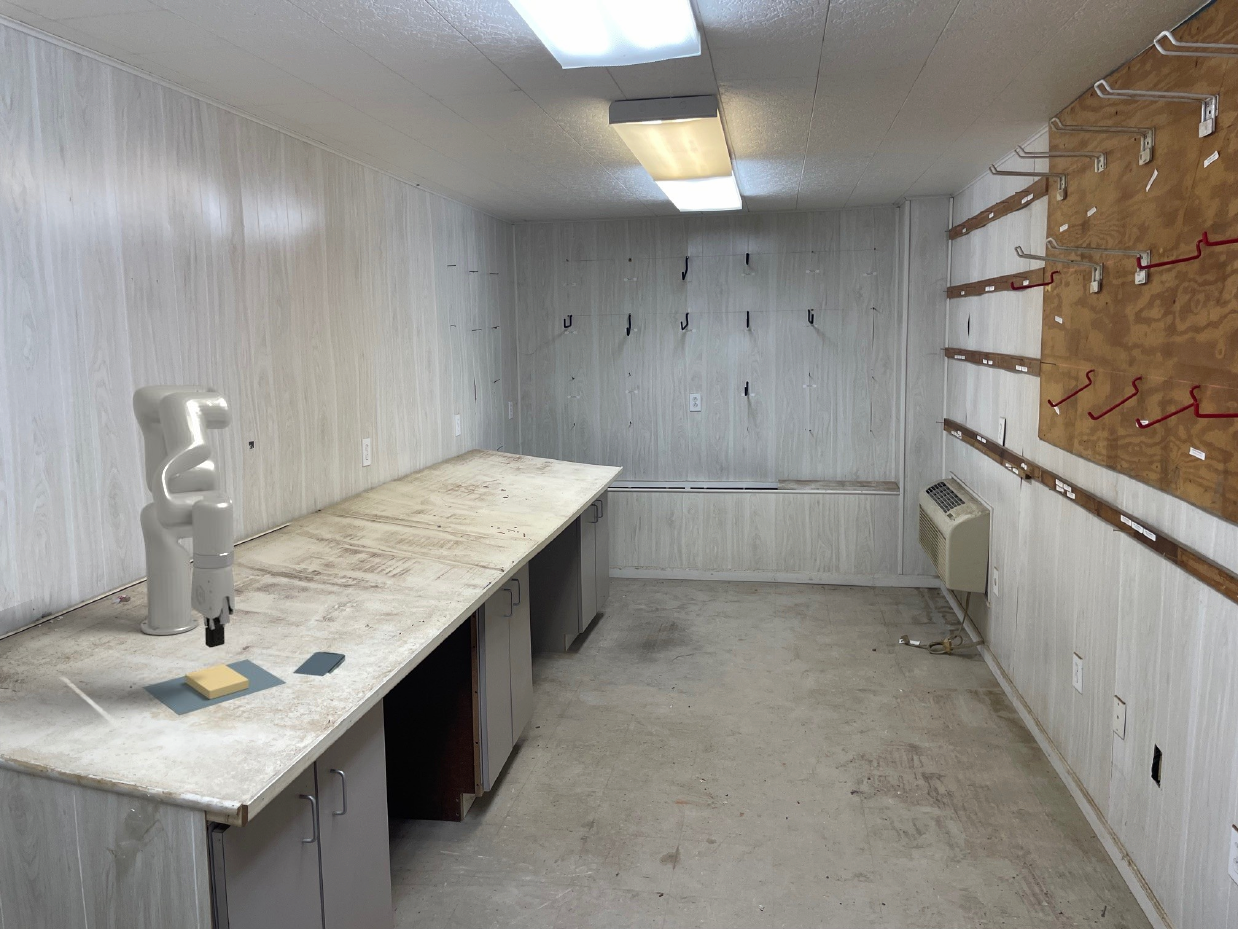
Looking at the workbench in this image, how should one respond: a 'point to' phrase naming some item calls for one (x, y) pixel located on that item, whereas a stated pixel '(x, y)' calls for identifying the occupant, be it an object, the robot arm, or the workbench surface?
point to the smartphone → (320, 664)
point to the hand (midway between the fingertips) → (215, 644)
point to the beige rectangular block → (216, 681)
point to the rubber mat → (189, 699)
